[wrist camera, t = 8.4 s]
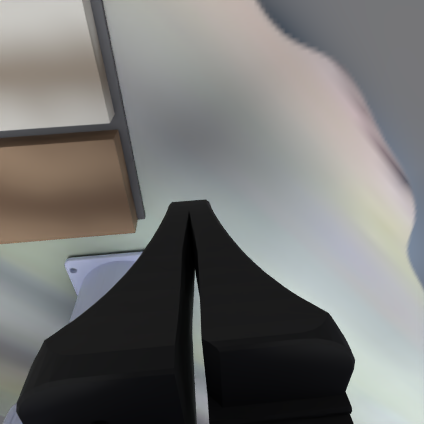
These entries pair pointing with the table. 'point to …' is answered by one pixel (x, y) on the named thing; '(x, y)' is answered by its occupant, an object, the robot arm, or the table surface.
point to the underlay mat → (119, 117)
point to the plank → (51, 66)
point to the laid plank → (64, 187)
